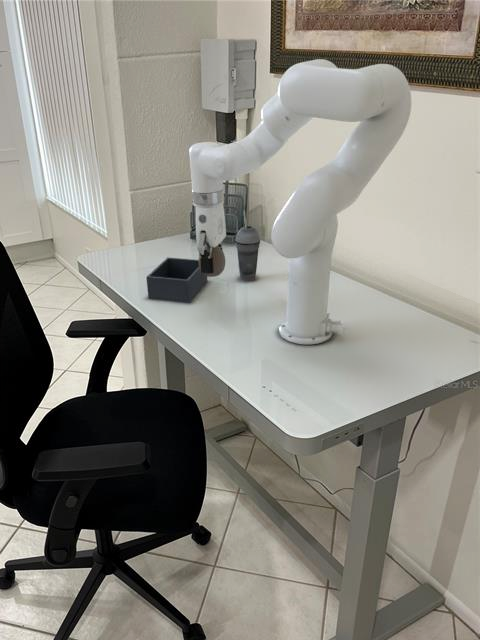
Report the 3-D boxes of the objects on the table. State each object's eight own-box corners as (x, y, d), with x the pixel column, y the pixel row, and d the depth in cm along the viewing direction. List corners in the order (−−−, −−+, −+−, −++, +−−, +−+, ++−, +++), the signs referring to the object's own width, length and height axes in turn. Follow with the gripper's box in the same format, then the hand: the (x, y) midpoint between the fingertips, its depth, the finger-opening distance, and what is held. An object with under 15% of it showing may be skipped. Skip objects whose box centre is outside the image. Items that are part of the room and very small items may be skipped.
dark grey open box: (207, 281, 174) (206, 260, 170) (189, 303, 162) (188, 280, 158) (168, 278, 178) (167, 257, 174) (148, 298, 166) (146, 276, 162)
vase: (226, 278, 150) (224, 244, 145) (199, 280, 150) (197, 246, 145) (225, 268, 155) (223, 236, 151) (199, 270, 156) (197, 238, 151)
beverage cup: (251, 285, 170) (251, 216, 159) (230, 280, 174) (229, 212, 163) (264, 276, 175) (265, 209, 164) (244, 272, 179) (243, 206, 168)
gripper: (211, 207, 134) (215, 280, 144) (233, 188, 148) (235, 256, 157) (180, 206, 137) (186, 278, 146) (205, 188, 151) (209, 255, 160)
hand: (212, 266), depth 152 cm, fingers closed on vase, 7 cm apart
